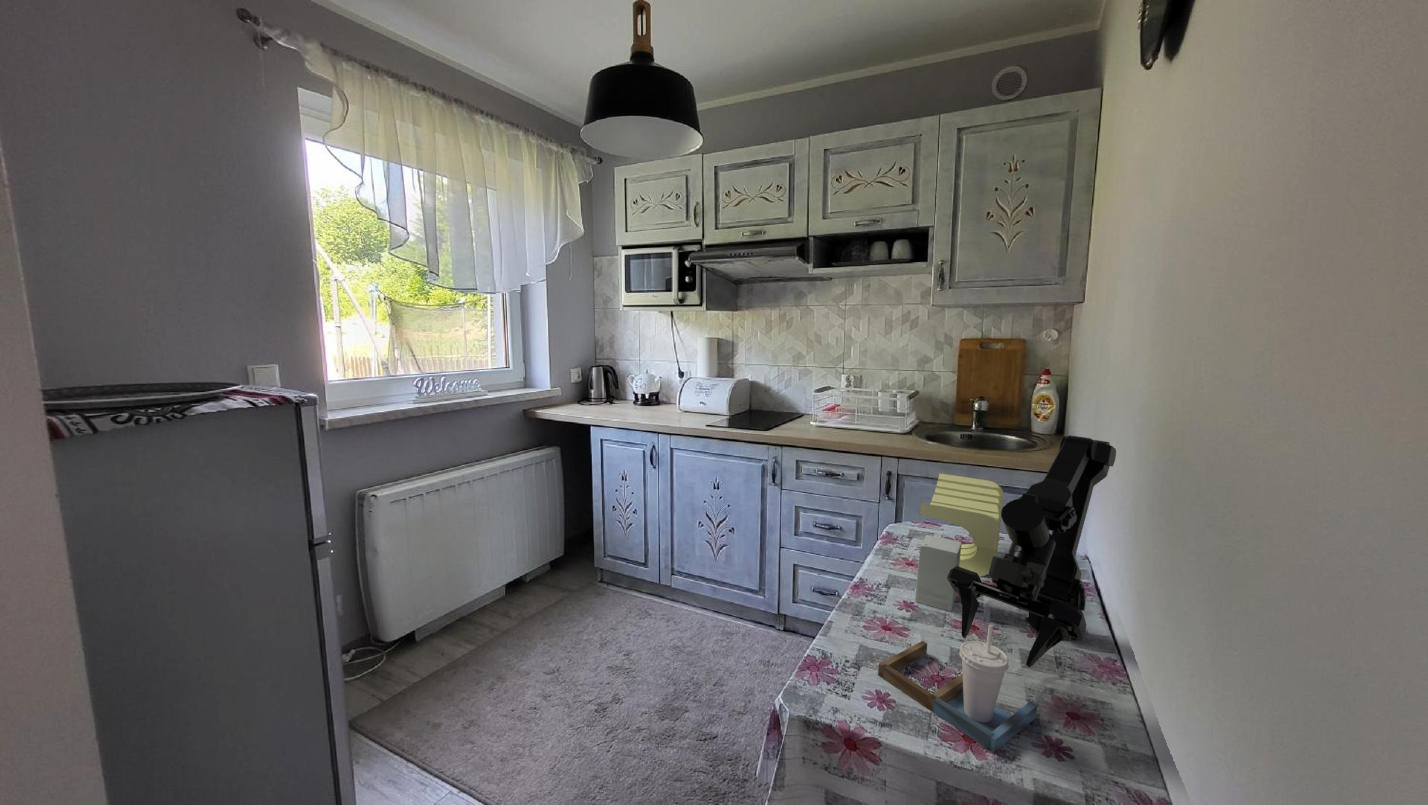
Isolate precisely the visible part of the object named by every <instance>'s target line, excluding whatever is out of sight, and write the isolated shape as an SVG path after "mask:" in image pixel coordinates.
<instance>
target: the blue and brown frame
mask: <svg viewBox="0 0 1428 805" xmlns="http://www.w3.org/2000/svg"><path fill="white" fill-rule="evenodd" d="M927 653H928V643H927V642H925V641H923V640H922V641H919V642H918V643H915V644H914V645H912V646H910V647H908V648H906V649H904V650H902V651H900V652H899V653H896V654H895V655H893V656H891V657H890V658H887V659H885V660H884V661H881V662H880V663H878V671H877V675H878V677H879V678H882V679H883V680H884V681H886V682H887V683H888V684H890V685H892V686H894V687H895V688H896V689H898V690H899V691H901V692H902V693H904V694H905V695H906V696H908V697H910V698H911V699H912V700H914V701H916V703H918V704H920V705H921V706H923V707H925V708H926V709H927V710H929V711H931V713H933V714H935V715H936V716H938V718H941V719H943V720H944V721H945V722H947V723H948V724H950V725H951V726H953V727H954V728H956V729H957V730H958V731H960V732H961V733H963V734H965V735H966V736H968V737H969V738H971V739H972V740H973V741H975V742H976V743H977V744H979V745H980V746H982V747H984V748H985V749H987V750H988V751H990V752H991V753H993V754H995V753H996V752H997V751H999V749H1000V748H1003V746H1004V745H1005V744H1007V743H1008V742H1010V740H1012V739H1013V737H1015V736H1016V735H1017V734H1018V733H1019V732H1021V731H1022V730H1023V729H1024V728H1025V727H1027V726H1028V725H1029V724H1030V723H1032V721H1034V720H1035V719H1036V718H1037V710H1038V705H1037V704H1036V703H1034V702H1032V701H1028V702H1027V703H1026V704H1025V705H1024V706H1023V707H1020V709H1018V711H1016V712H1014V713H1013V714H1012V715H1011V714H1010V713H1008V712H1006V711H1004V710H1003V709H1002V708H1000V707H997V705H995V708H994V712H993V716H992V719H991V721H989V722H978V721H976V720H973V719H972V718H970V717H969V716H968V715H967V714H966V713H965V711H964V695H963V673H962V674H961V675H959V676H958V677H956V678H954V679H953V680H952V681H949V682H948V683H947V684H945V685H943V686H942V687H940V688H939V689H937V690H935V691H934V692H933V693H932V692H930V691H928V690H927V689H926V688H924V687H923V686H921V685H919V684H917V682H915V681H913V680H912V679H910V678H909V677H907V676H906V675H904V674H902V673H900V672H899V670H901V669H902V668H904V667H906V666H908V665H910V664H912V663H913V662H916V661H917V660H919V659H920V658H922V657H924V656H926V655H927Z"/></svg>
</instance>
